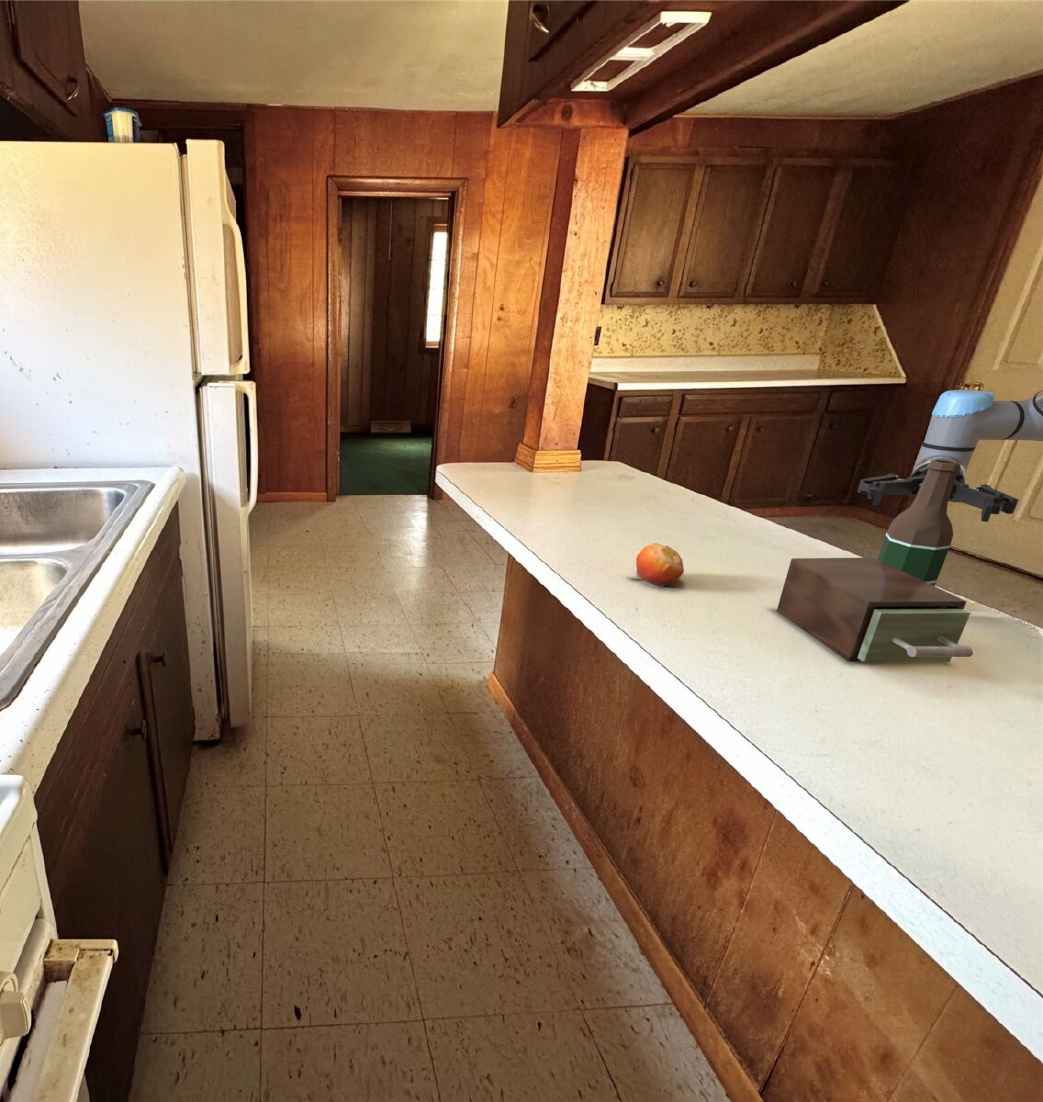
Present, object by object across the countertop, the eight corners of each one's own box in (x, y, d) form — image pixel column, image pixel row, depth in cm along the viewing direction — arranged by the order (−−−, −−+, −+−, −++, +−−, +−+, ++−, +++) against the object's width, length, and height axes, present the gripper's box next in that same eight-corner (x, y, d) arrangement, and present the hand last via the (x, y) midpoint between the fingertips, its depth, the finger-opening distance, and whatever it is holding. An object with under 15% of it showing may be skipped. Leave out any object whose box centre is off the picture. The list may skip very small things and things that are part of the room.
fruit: (632, 559, 119) (661, 531, 114) (666, 588, 116) (698, 560, 111) (616, 572, 114) (646, 543, 109) (651, 602, 111) (684, 574, 106)
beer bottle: (885, 608, 101) (936, 467, 92) (854, 588, 108) (899, 455, 99) (939, 610, 99) (996, 467, 90) (905, 589, 106) (954, 455, 97)
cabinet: (941, 661, 86) (967, 601, 82) (848, 661, 87) (869, 602, 83) (855, 610, 100) (873, 557, 97) (776, 611, 101) (791, 558, 97)
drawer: (979, 679, 80) (1002, 628, 77) (888, 679, 81) (908, 628, 78) (866, 613, 97) (882, 569, 94) (792, 613, 98) (805, 570, 95)
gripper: (1025, 511, 110) (1030, 543, 97) (847, 487, 127) (830, 511, 113) (1042, 471, 107) (1050, 498, 94) (858, 452, 124) (842, 472, 111)
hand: (929, 505), depth 104 cm, fingers open, 13 cm apart
